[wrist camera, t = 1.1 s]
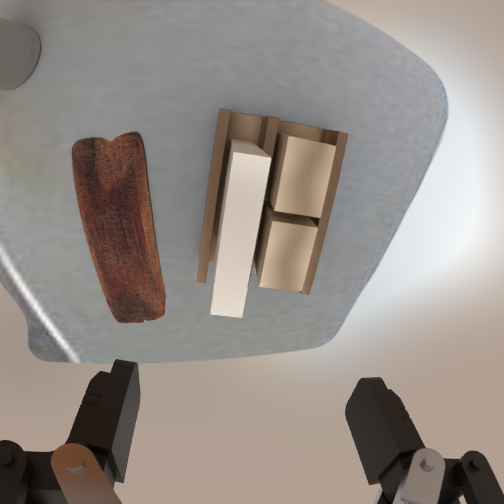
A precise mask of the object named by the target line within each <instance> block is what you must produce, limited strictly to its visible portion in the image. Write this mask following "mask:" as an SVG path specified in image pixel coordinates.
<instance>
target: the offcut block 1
mask: <svg viewBox="0 0 504 504" xmlns="http://www.w3.org/2000/svg"><path fill="white" fill-rule="evenodd" d="M335 150H336V146H334V145H330V144H326V143H322V142H318V141H314V140H310V139H305V138H300V137H295V136H290V135H285V134H280V133H277V135H276V140H275V146H274V151H273V156H272V162H271V167H270V173H269V178H268V184H267V189H266V195H267V197H268V199H269V201H270V203H271V205H272V207H273V209H274V211H279V212H285V213H292V214H298V215H304V216H311V217H317V218H320V217H321V213H322V209H323V205H324V200H325V196H326V191H327V187H328V183H329V178H330V173H331V169H332V164H333V159H334V155H335Z"/></svg>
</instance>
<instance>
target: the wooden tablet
mask: <svg viewBox="0 0 504 504" xmlns="http://www.w3.org/2000/svg"><path fill="white" fill-rule="evenodd" d="M72 162H73V175H74V181H75V188H76V194H77V200H78V205H79V209H80V215H81V219H82V224H83V228H84V232H85V235H86V239H87V242H88V246H89V249H90V253H91V256H92V259H93V262H94V266H95V269H96V272H97V275H98V278H99V281H100V284H101V286H102V290H103V292H104V295H105V297H106V299H107V300H106V301H107V303H108V305H109V308H110V310H111V312H112V314H113V316H114V318H115V319H116V320H117V321H118V322H120V323H141V322H144V320H147V321H149V320H156V319H157V318H159V317H162V316H164V313H165V298H166V295H165V288H164V283H163V278H162V274H161V268H160V263H159V258H158V253H157V247H156V241H155V234H154V228H153V220H152V213H151V205H150V198H149V190H148V182H147V173H146V171H147V170H146V163H145V155H144V148H143V144H142V140H141V137H140V134H138V133H137V132H130V133H127V134H123V135H120V136H118V137H116V138H115V139H114V140H113V141H112V142H110V141H108V140H106V139H103V138H86V139H82V140H79V141H77V142H75V144H74V145H73V147H72Z"/></svg>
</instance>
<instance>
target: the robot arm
mask: <svg viewBox="0 0 504 504" xmlns="http://www.w3.org/2000/svg"><path fill="white" fill-rule="evenodd" d="M39 54H40V39H39V36H38V34H37V33H36V32H35V31H34V30H33V29H31V28H28V27H25V26H22V25H19V24H17V23H14V22H11V21H8V20H4V19H1V18H0V90H10V89H14V88H16V87H18V86H20V85H21V84H22V83H23V82H25V81H26V80H27V78H28V77H29V76H30V75H31V73H32V72H33V70H34V68H35V66H36V64H37V61H38V58H39ZM139 405H140V384H139V372H138V364H137V363H136V362H130V361H124V360H119V359H116V360H115V362H114V364H113V367H112V370H111V372H110V373H108V372H103V371H100V372H99V373H98V374H96V375H95V376H94V377H93V378H92V379H91V380H90V382H89V385H88V388H87V390H86V394H85V395H84V397H83V400H82V404H81V405H80V408H79V411H78V413H77V416H76V418H75V421H74V424H73V427H72V429H71V432H70V435H69V438H68V440H67V441H66V443H65V444H64V445H62V446H60V447H58V448H57V449H56V450H54V451H51V452H31V451H23V449H22V448H21V447H20V446H19V445H18V444H17V443H15V442H12V441H9V440H2V441H0V504H122V503H121V501H120V499H119V498H118V496H117V495H116V493H115V491H114V490H113V489H114V483H115V481H116V482H121V483H124V478H125V473H126V467H127V462H128V457H129V452H130V447H131V442H132V437H133V433H134V427H135V423H136V419H137V414H138V410H139ZM345 416H346V420H347V422H348V425H349V428H350V431H351V434H352V437H353V439H354V442H355V445H356V448H357V451H358V454H359V457H360V460H361V462H362V466H363V468H364V471H365V474H366V477H367V480H368V483H369V485H373V484H378V483H380V484H381V487H382V488H381V489H380V490H379V491H378V493H377V496H376V499H375V501H374V503H373V504H460V501H459V499H458V498H459V497H461V496H462V495H464V497H465V500H466V503H467V504H504V494H503V492H502V490H501V488H500V486H499V483H498V481H497V479H496V477H495V475H494V473H493V471H492V469H491V467H490V465H489V463H488V461H487V459H486V458H485V456H484V455H483V454H481V453H480V452H477V451H468V452H467V453H465V454H464V456H462V457H461V458H460V459H444V458H443V457H442V456H441V455H440V454H439V453H438V452H437V451H435V450H433V449H430V448H426V447H425V446H424V444H423V442H422V440H421V438H420V436H419V434H418V432H417V430H416V428H415V426H414V424H413V422H412V420H411V418H409V414H408V412H407V411H406V410H405V407H404V405H403V403H402V401H401V399H400V398H399V397H398V396H397V395H396V394H395V393H394V392H393V391H392V390H391V389H387V387H386V385H385V383H384V381H383V379H382V378H380V377H372V378H361V379H360V380H359V381H358V383H357V386H356V387H355V389H354V391H353V393H352V395H351V397H350V399H349V400H348V402H347V405H346V410H345Z"/></svg>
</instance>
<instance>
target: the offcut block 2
mask: <svg viewBox="0 0 504 504" xmlns="http://www.w3.org/2000/svg"><path fill="white" fill-rule="evenodd" d="M317 230H318V227H317V226H316V225H315V224H314V222H313V221H312V220H311V219H310V217H309V216H304V215H298V214H292V213H285V212H279V211H274V209H273V207H272V205H271V203H270V201H266V200H264V205H263V211H262V216H261V222H260V227H259V232H258V238H257V243H256V248H255V254H254V262H255V267H256V272H257V278H258V283H259V287H265V288H275V289H284V290H294V291H302V288H303V285H304V281H305V277H306V273H307V269H308V266H309V262H310V258H311V254H312V250H313V246H314V242H315V238H316V234H317Z"/></svg>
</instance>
